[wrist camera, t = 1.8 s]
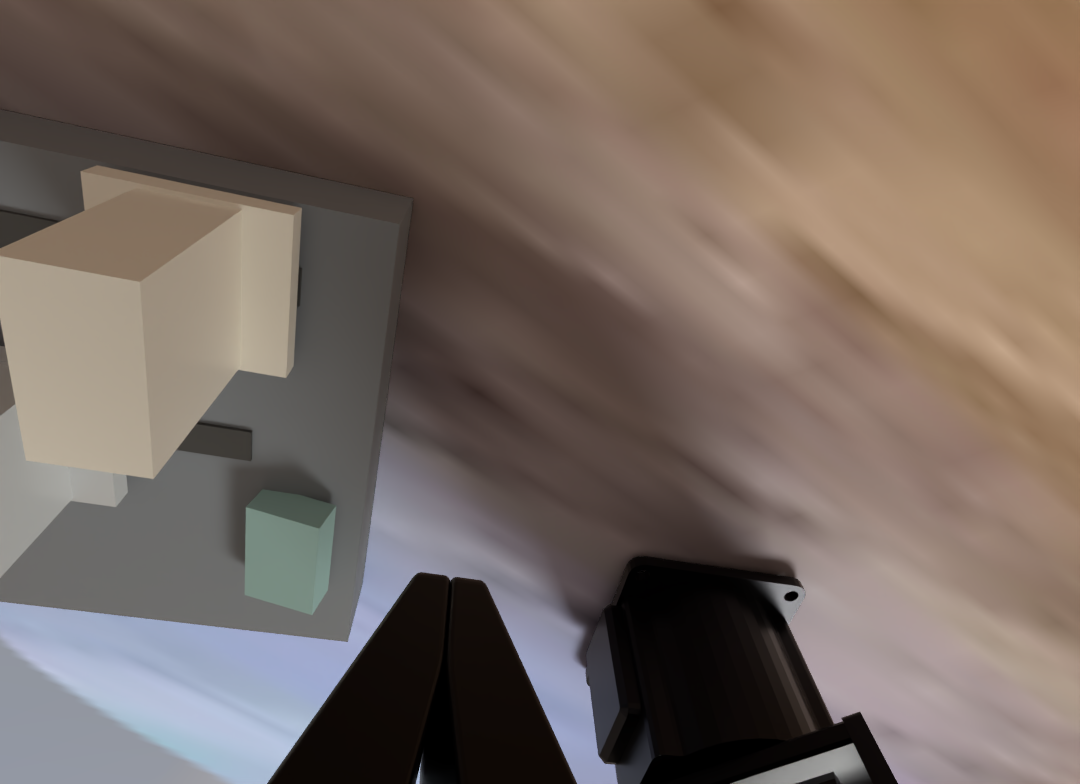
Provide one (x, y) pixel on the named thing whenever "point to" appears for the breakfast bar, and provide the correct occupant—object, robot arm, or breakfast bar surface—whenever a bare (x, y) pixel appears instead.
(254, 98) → the breakfast bar surface
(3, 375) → the white stepped block
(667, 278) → the breakfast bar surface
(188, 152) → the console
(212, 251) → the cream flanged block
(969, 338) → the breakfast bar surface
